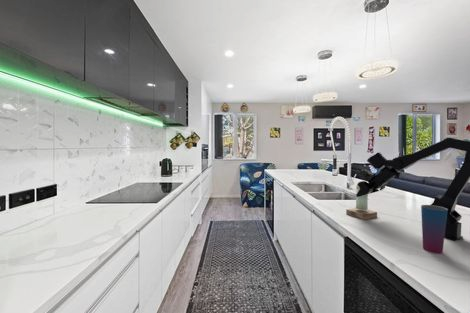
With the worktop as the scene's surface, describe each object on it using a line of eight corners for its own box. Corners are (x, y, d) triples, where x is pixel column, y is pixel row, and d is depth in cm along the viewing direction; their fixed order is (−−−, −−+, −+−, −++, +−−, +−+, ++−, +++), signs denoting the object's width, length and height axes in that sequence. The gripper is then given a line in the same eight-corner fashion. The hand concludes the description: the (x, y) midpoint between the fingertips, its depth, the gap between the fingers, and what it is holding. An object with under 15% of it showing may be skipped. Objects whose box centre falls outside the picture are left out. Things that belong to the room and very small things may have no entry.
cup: (419, 244, 81) (420, 203, 80) (445, 249, 77) (446, 206, 76) (419, 250, 76) (421, 207, 75) (447, 256, 71) (449, 211, 71)
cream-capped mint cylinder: (369, 209, 112) (370, 186, 112) (360, 209, 112) (360, 186, 111) (363, 207, 117) (363, 184, 117) (353, 207, 117) (354, 184, 116)
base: (377, 217, 112) (377, 212, 112) (363, 219, 108) (363, 214, 108) (359, 211, 121) (359, 207, 121) (346, 213, 117) (346, 209, 117)
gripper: (378, 163, 116) (357, 181, 125) (361, 165, 105) (339, 185, 114) (396, 180, 110) (371, 197, 119) (379, 183, 99) (354, 203, 108)
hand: (359, 195), depth 115 cm, fingers closed on cream-capped mint cylinder, 5 cm apart
